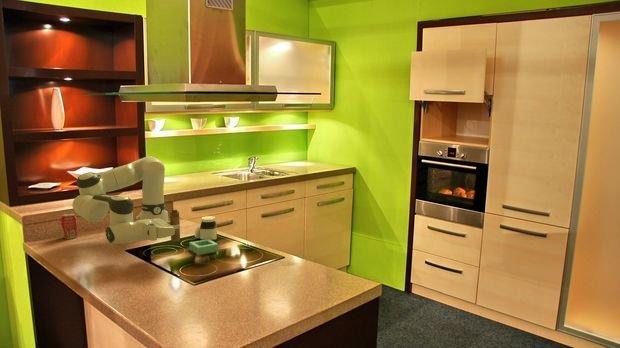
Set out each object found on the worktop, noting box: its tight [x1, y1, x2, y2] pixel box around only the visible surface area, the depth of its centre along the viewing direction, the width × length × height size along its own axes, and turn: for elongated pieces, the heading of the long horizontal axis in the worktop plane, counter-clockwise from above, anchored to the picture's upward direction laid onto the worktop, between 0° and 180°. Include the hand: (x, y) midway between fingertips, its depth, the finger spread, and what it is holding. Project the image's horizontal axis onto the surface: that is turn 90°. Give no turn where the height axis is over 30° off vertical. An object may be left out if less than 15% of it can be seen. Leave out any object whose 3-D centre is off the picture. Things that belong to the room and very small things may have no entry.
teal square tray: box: [188, 239, 219, 256], centre depth 230 cm, size 10×10×4 cm
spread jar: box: [194, 215, 218, 242], centre depth 246 cm, size 12×11×12 cm
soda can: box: [60, 212, 79, 240], centre depth 248 cm, size 7×7×12 cm
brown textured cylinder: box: [169, 208, 181, 242], centre depth 222 cm, size 4×4×14 cm
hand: (177, 224), depth 222 cm, fingers closed on brown textured cylinder, 4 cm apart
